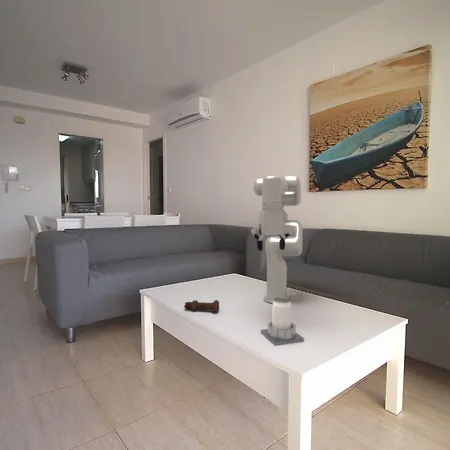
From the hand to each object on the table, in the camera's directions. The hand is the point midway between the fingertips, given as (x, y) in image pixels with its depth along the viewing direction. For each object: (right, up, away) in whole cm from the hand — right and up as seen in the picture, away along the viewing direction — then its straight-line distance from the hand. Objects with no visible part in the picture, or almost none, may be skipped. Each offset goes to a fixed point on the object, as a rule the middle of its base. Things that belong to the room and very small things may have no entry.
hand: (271, 249), depth 122 cm
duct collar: (+1, -29, -16) cm, 33 cm away
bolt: (-29, -28, +11) cm, 42 cm away
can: (+1, -28, -16) cm, 32 cm away
